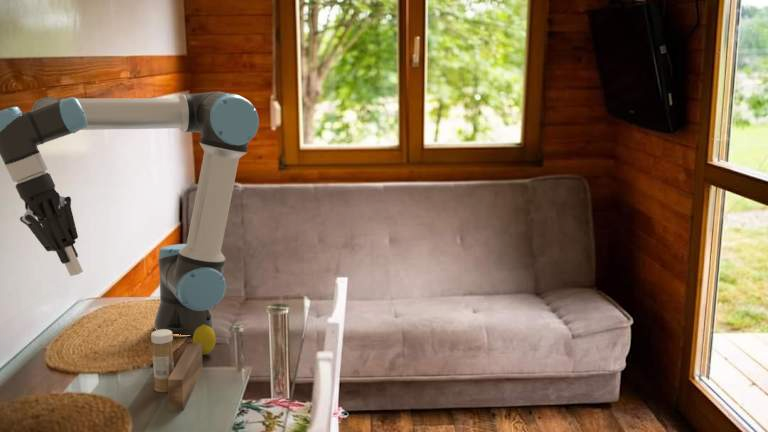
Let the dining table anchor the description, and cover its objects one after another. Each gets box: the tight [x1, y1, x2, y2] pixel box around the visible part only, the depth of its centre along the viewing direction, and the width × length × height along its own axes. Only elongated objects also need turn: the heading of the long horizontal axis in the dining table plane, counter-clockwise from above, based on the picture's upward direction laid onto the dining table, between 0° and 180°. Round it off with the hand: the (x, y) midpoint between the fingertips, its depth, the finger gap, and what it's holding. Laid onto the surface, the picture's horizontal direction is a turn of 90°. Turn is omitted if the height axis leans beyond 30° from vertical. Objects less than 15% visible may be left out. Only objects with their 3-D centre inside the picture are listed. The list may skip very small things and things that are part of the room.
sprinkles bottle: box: [150, 329, 175, 393], centre depth 173 cm, size 5×5×13 cm
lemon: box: [192, 324, 217, 356], centre depth 193 cm, size 6×6×8 cm
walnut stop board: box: [167, 342, 203, 411], centre depth 174 cm, size 3×20×7 cm, turn 1°
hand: (76, 273), depth 177 cm, fingers closed
